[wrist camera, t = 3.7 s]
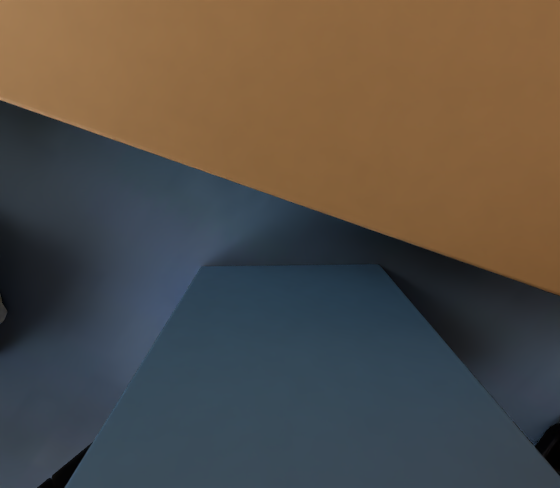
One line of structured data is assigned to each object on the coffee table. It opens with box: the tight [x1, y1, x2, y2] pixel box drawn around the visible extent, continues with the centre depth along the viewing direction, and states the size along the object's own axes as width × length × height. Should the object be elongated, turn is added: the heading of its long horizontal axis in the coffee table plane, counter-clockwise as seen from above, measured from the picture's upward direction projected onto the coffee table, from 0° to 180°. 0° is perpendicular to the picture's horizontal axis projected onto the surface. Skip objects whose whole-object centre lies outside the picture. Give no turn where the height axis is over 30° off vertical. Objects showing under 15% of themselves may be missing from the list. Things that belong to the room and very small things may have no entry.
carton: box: [65, 264, 560, 488], centre depth 6 cm, size 5×5×9 cm
